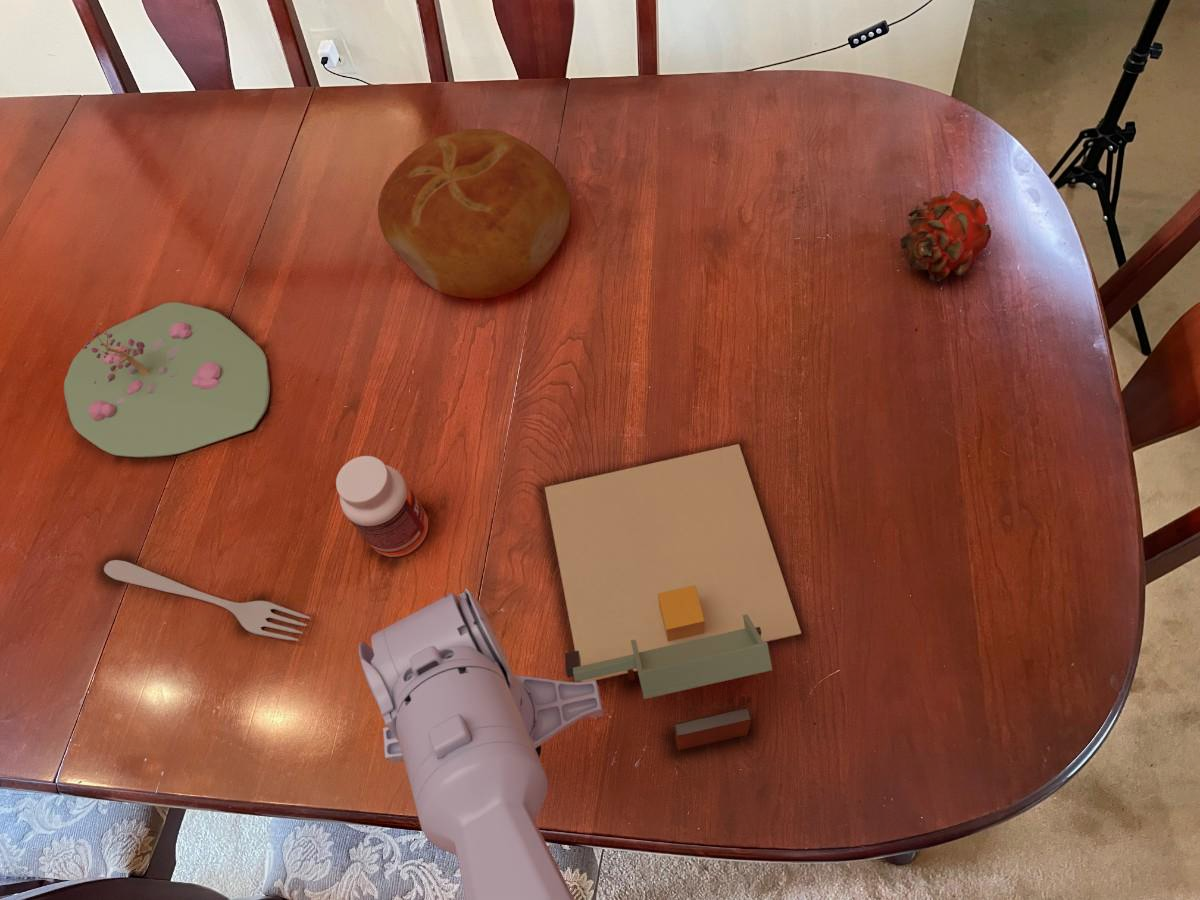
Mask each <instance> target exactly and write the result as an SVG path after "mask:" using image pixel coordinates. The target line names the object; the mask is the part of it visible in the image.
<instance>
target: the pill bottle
mask: <svg viewBox="0 0 1200 900" xmlns="http://www.w3.org/2000/svg"><path fill="white" fill-rule="evenodd" d="M335 487H336V491H337V493H338V495H339V504H340V508H341V511H342V513H343V514H344V515H345V517H346V518H347V519H348V520H349V521H350V523H351V524H352V525H353V526H354V527H355V529H356V530H357V531H358V532H359V533H360V535H361V536H362V537H363V538H364V540H365V541H366V542H367V544H368V545H370V546H371V548H372V549H373V550H374V551H375V552H377V553H378V554H380V555H383V556H386V557H389V558H398V557H402V556H406V555H409V554H410V553H412V552H414V551H415V550H416V549H417V548H419V547H420V546H421V544H422V543H423V542H424V540H425V539H426V536H427V534H428V530H429V517H428V516H427V513H426V511H425V509H424V507H423V506H422V505H421V503H420V501H419V500H418V498H417V496H416V495H415V494H414V492H413V490H412V489H411V487H410V486H409V484H408V482H407V481H406V480H405V478H404V476H403V475H402V474H401V472H400V471H398V470H397V469H396V468H394V467H393V466H390V465H388V464H385V463H384V462H383V461H382V460H381V459H380V458H378V457H375V456H372V455H361V456H356V457H354V458H352V459H350V460H349V461H347V462H346V463H345V464H344V465H343V466H342V467H341V468H340V469H339V471H338V474H337V475H336V479H335Z"/></svg>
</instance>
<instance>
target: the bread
mask: <svg viewBox="0 0 1200 900" xmlns="http://www.w3.org/2000/svg"><path fill="white" fill-rule="evenodd" d="M571 211H572V202H571V196H570V191H569V189H568V185H567V183H566V181H565V179H564V177H563V176H562V174H561V172H560V171H559V170H558V169H557V167H556V166H555V165H554V164H553V163H552V162H551V161H550V159H548V158H547V157H546V156H545V155H543V153H541V152H540V151H539V150H538V149H536V148H535V147H534V146H532V145H530V144H528V143H527V142H525V141H524V140H522V139H521V138H518V137H517V136H514V135H512V134H509V133H507V132H505V131H502V130H499V129H492V128H466V129H461V130H458V131H454V132H451V133H447V134H443V135H440V136H437V137H435V138H433V139H431V140H429V141H427V142H425V143H423V144H422V145H420V146H419V147H417V148H415V150H413V151H411V153H410V154H408V155H407V156H406V157H405V158H404V159H403V160H402V161H401V162H400V163H398V165H397V166H396V167H395V169H394V170H393V171H392V173H390V175H389V176H388V178H387V180H386V181H385V183H384V185H383V187H382V188H381V191H380V193H379V196H378V203H377V217H378V223H379V227H380V229H381V233H382V235H383V238H384V240H385V241H386V243H388V245H389V246H390V248H391V249H393V250H394V252H395V253H396V254H397V255H398V257H400V258H401V259H402V261H403V262H404V263H405V264H406V266H408V267H409V268H410V269H411V270H412V272H413V273H414V274H415V275H416V276H417V277H418V278H419V279H420V280H422V281H423V282H424V283H425V284H427V285H428V286H429V287H431V288H432V289H434V290H435V291H437V292H439V293H441V294H444V295H447V296H451V297H455V298H456V297H457V298H466V299H475V300H476V299H477V300H478V299H490V298H494V297H497V296H498V297H499V296H501V295H505V294H508V293H512V292H513V291H516V290H517V289H519V288H521V287H523V286H524V285H526V284H528V283H530V281H531V280H533V279H534V278H535V277H536V276H537V275H538V274H539V273H540V272H541V271H542V269H543V268H544V267H545V266H546V265H547V264H548V263H549V261H550V260H551V258H553V256H554V255H555V253H556V252H557V250H558V248H559V246H560V245H561V243H562V242H563V239H564V237H565V235H566V233H567V231H568V229H569V225H570V221H571V213H572V212H571Z"/></svg>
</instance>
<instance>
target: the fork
mask: <svg viewBox="0 0 1200 900" xmlns="http://www.w3.org/2000/svg"><path fill="white" fill-rule="evenodd" d="M103 571H104V573H105V574H106V575H107V576H108V577H110V578H112V579H113V580H116V581H119V582H123V583H127V584H130V585H131V584H132V585H136V586H140V587H144V588H147V589H151V590H156V591H160V592H164V593H170V594H173V595H174V594H175V595H179V596H183V597H189V598H193V599H197V600H200V601H203V602H207V603H211V604H214V605H217V606H220V607H221V608H223V609H226V610H227V611H229V612H230V613H232V614H233V615H234V617H236V619H237V621H238V622H239V624H240V625H241V627H242V628H244V630H246V631H247V632H249V633H251V634H255V635H259V636H263V637H270V638H275V639H281V640H285V641H286V640H287V641H295V642H298V641H299V638H296V637H293V636H290V635H286V634H282V633H277V632H272V631H268V630H267V631H266V630H265V629H264V630H263V629H262V628H264V627H265V628H271V629H275V630H279V631H284V632H289V633H294V634H300V635H302V634H303V631H301V630H298V629H296V628H292V627H289V626H285V625H282V624H278V623H274V622H271V621H268V620H267V619H273V620H276V621H280V622H285V623H288V624H292V625H296V626H301V627H307V626H308V624H306V623H303V622H301V621H299V620H297V619H293V618H289V617H286V616H283V615H281V614H277V613H274V612H272V610H275V611H279V612H282V613H285V614H288V615H292V616H294V617H297V618H303V619H307V620H310V619H311V616H309V615H306V614H303V613H301V612H299V611H295V610H293V609H290V608H287V607H284V606H281V605H279V604H277V603H273V602H271V601H268V600H253V601H247V602H237V601H236V602H235V601H230V600H227V599H223V598H221V597H217V596H214V595H211V594H208V593H205V592H202V591H200V590H197V589H195V588H192V587H190V586H187V585H185V584H182V583H181V582H179V581H178V582H177V581H175V580H173V579H170V578H168V577H165V576H163V575H160V574H158V573H156V572H153V571H150V570H149V569H146V568H144V567H142V566H139V565H137V564H134V563H132V562H129V561H126V560H121V559H120V560H119V559H114V560H113V559H112V560H110V561H107V563H105V565H104V567H103Z"/></svg>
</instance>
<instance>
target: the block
mask: <svg viewBox="0 0 1200 900" xmlns="http://www.w3.org/2000/svg"><path fill="white" fill-rule="evenodd" d="M658 601H659V608H660V612H661V616H662V621H663V625H664V629H665V633H666V637H667V641H672V640H676V639H681V638H685V637H689V636H694V635H698V634H703V633H704V631H705V620H704V616H703V612H702V609H701V605H700V601H699V598H698V594H697V590H696V586H695V585H693V586H689V587H685V588H680V589H676V590H671V591H667V592H662V593H658Z"/></svg>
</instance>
